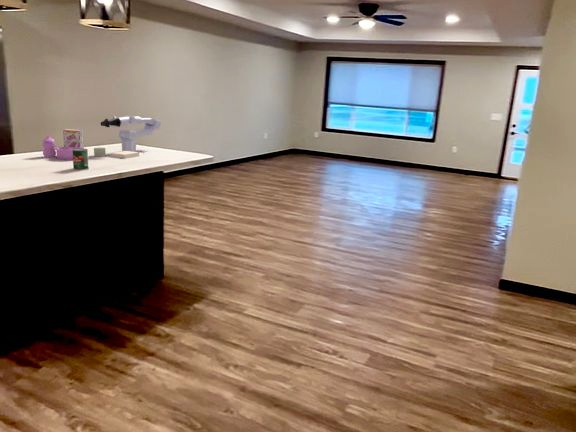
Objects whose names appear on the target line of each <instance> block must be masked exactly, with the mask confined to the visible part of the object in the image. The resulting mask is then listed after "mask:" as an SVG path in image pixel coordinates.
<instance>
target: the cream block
mask: <svg viewBox="0 0 576 432" xmlns="http://www.w3.org/2000/svg"><path fill="white" fill-rule="evenodd" d="M109 156H110V157H111V158H118V159H130V158H131V159H132V158H136V157H140V152H138V151H137V152H132V151H122V150H120V151H115V152H110V154H109Z"/></svg>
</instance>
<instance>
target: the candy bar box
mask: <svg viewBox="0 0 576 432" xmlns="http://www.w3.org/2000/svg"><path fill="white" fill-rule="evenodd" d="M62 132H63V134H62V135H63V147H81V148H83V149H85V146H84V130H81V129H70V128H64V129H62Z"/></svg>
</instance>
